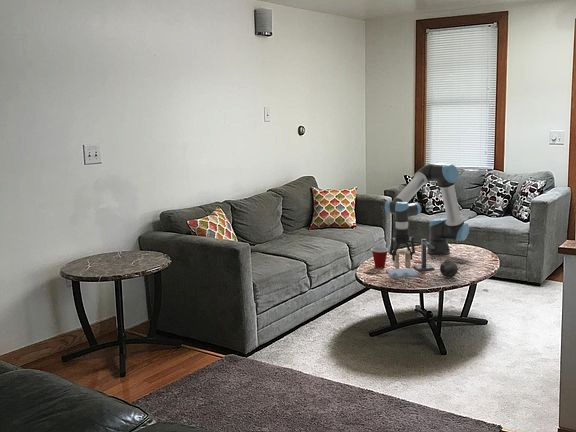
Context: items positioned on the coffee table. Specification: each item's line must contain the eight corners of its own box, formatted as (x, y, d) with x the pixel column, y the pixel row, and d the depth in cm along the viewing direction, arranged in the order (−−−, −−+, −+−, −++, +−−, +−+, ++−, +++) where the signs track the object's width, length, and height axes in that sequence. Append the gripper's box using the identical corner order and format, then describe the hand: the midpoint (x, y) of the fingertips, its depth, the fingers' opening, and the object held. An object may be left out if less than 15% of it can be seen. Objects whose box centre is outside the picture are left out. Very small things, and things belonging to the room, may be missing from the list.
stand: (429, 266, 392) (429, 237, 389) (440, 275, 371) (441, 244, 368) (413, 267, 392) (413, 238, 388) (424, 276, 370) (424, 245, 367)
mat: (411, 269, 385) (411, 268, 385) (419, 276, 370) (419, 275, 369) (386, 271, 384) (385, 269, 384) (392, 278, 368) (392, 276, 368)
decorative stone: (437, 278, 365) (437, 261, 364) (444, 274, 373) (444, 257, 371) (453, 280, 359) (453, 263, 357) (460, 276, 367) (460, 259, 365)
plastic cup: (378, 270, 388) (377, 251, 385) (368, 266, 397) (367, 248, 395) (392, 267, 392) (392, 248, 390) (382, 264, 402) (381, 245, 400)
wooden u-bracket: (407, 266, 379) (407, 249, 377) (410, 268, 374) (409, 250, 372) (394, 266, 378) (394, 249, 376) (396, 269, 373) (396, 251, 371)
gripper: (386, 230, 367) (386, 268, 371) (421, 228, 369) (421, 266, 373) (383, 228, 375) (383, 265, 379) (417, 226, 377) (417, 263, 380)
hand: (402, 265), depth 376 cm, fingers closed on wooden u-bracket, 8 cm apart
